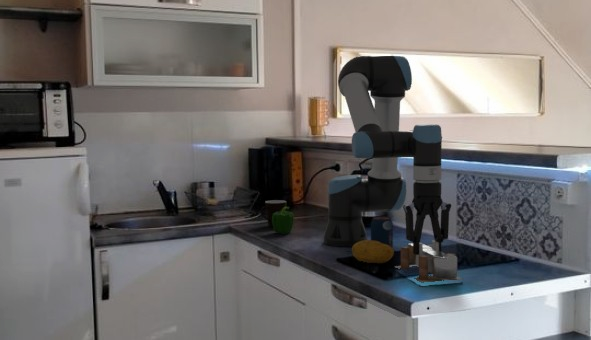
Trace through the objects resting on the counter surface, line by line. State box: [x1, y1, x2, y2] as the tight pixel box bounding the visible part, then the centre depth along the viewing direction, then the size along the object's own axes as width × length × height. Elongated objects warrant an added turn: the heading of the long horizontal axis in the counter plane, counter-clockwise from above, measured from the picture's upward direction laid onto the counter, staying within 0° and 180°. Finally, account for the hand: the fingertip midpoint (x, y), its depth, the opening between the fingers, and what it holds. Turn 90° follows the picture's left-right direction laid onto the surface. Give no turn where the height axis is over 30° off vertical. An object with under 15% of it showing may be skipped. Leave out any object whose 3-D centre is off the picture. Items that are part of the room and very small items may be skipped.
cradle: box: [394, 244, 463, 283], centre depth 177 cm, size 18×12×7 cm, turn 14°
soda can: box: [370, 215, 394, 250], centre depth 205 cm, size 7×7×12 cm
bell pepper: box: [272, 206, 295, 235], centre depth 244 cm, size 8×8×10 cm
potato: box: [351, 239, 395, 264], centre depth 194 cm, size 8×14×7 cm, turn 43°
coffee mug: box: [260, 199, 287, 229], centre depth 259 cm, size 12×9×10 cm
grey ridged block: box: [407, 242, 458, 279], centre depth 175 cm, size 22×6×5 cm, turn 14°
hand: (427, 265), depth 177 cm, fingers closed on grey ridged block, 4 cm apart
